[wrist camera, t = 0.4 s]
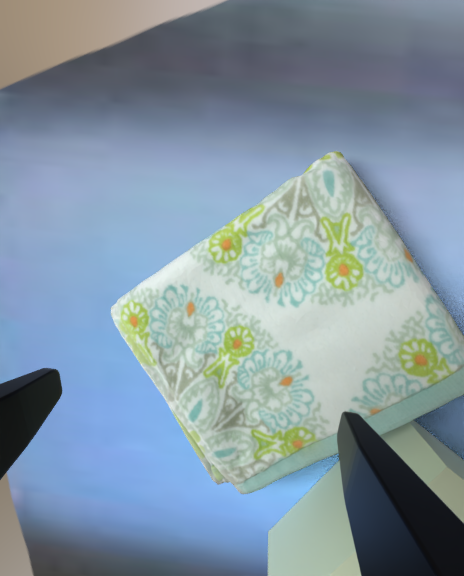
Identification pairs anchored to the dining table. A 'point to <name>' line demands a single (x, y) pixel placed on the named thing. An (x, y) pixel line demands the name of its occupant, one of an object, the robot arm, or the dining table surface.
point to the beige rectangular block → (333, 515)
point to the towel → (293, 330)
